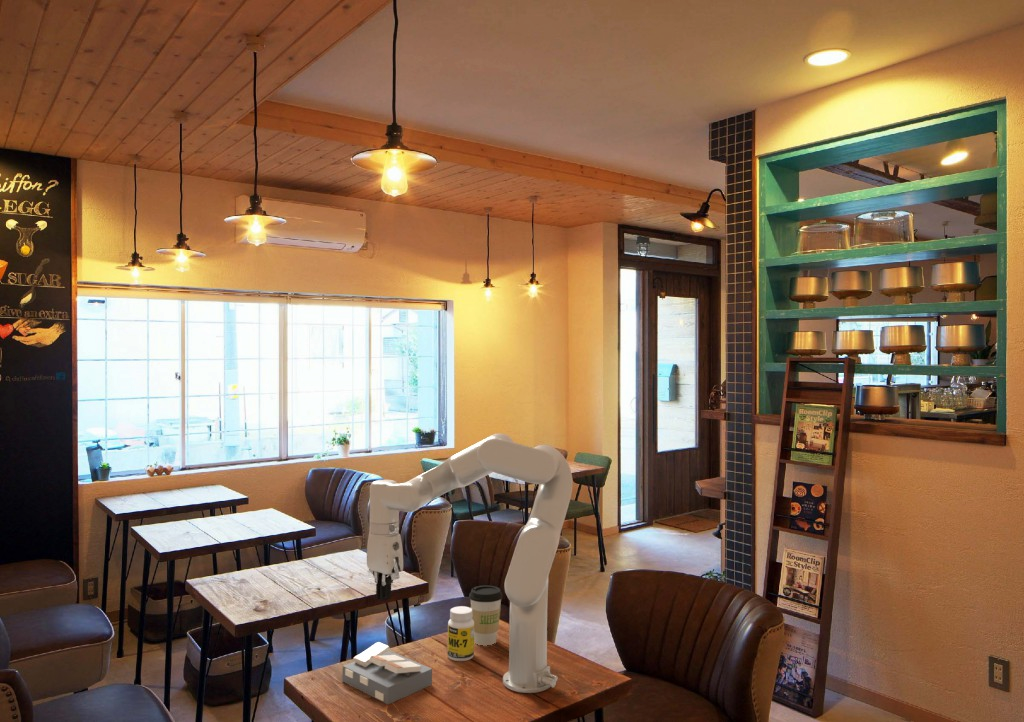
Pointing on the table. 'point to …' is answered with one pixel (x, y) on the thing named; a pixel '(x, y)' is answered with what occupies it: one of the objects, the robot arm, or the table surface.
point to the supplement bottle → (460, 634)
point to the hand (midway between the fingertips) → (383, 598)
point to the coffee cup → (485, 613)
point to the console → (386, 680)
